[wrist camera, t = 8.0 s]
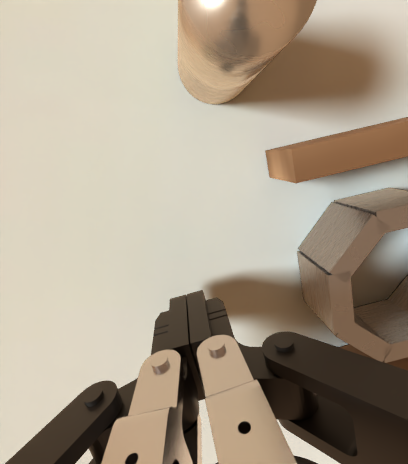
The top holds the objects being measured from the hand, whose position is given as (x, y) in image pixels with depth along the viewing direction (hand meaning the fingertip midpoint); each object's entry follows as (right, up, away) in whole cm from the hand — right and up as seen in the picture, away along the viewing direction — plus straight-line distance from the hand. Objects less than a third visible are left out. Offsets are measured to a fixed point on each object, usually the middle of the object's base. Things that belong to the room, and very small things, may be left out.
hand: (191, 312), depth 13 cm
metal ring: (+9, +2, +2) cm, 9 cm away
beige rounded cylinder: (+1, +10, -1) cm, 11 cm away
